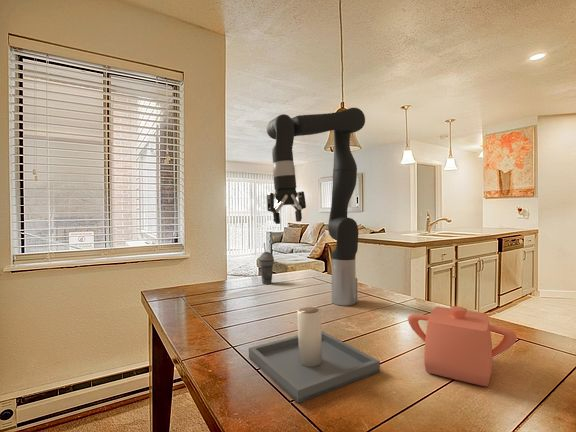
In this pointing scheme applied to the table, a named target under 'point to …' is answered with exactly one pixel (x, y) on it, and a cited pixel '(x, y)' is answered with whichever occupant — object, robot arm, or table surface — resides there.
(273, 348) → the charcoal tray
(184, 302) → the table surface
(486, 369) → the teapot
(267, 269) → the beverage cup
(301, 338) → the cream cup
